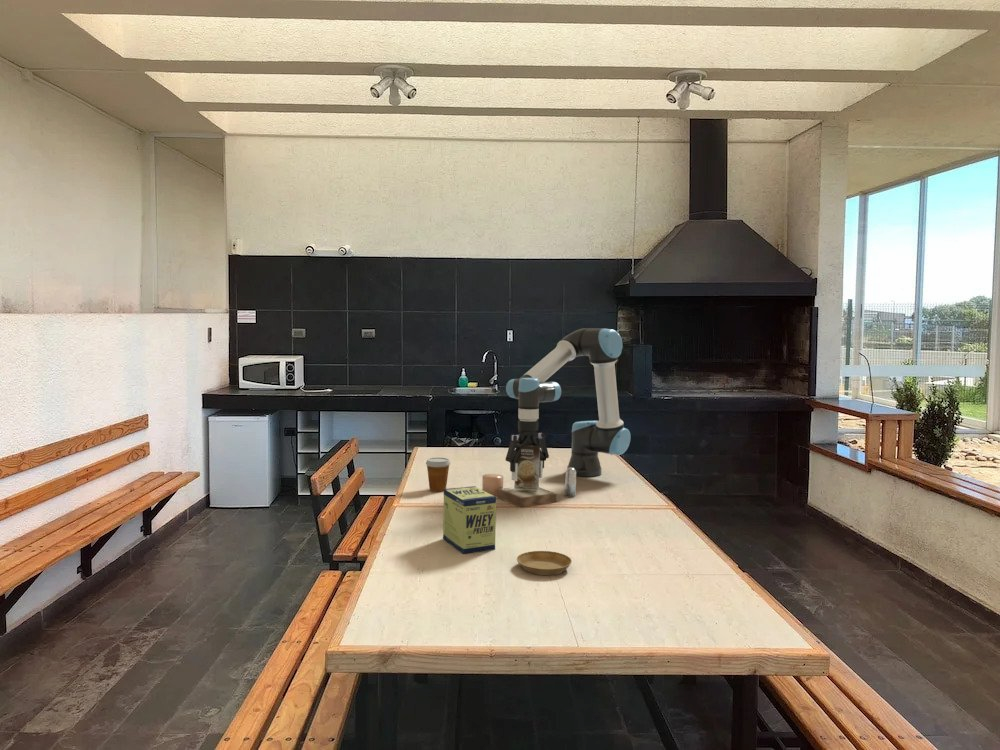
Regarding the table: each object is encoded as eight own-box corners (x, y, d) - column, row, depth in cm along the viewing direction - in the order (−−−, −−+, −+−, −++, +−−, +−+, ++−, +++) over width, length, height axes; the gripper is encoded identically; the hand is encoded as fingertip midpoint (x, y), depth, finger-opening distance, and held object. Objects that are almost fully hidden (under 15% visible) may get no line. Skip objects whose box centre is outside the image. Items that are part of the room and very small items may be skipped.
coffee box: (513, 489, 257) (514, 446, 255) (515, 485, 263) (515, 443, 262) (538, 490, 256) (539, 447, 254) (539, 486, 262) (540, 444, 261)
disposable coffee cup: (421, 491, 269) (421, 460, 268) (432, 486, 278) (432, 456, 277) (443, 494, 265) (443, 462, 265) (454, 488, 274) (454, 458, 273)
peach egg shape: (496, 490, 273) (496, 473, 272) (507, 495, 266) (507, 477, 265) (478, 492, 268) (478, 475, 268) (488, 497, 262) (489, 479, 261)
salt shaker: (571, 494, 269) (572, 466, 268) (577, 496, 266) (578, 467, 265) (562, 495, 267) (563, 466, 266) (569, 497, 264) (570, 468, 263)
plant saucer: (516, 558, 195) (516, 549, 195) (569, 560, 194) (569, 551, 194) (516, 578, 180) (516, 568, 180) (573, 579, 180) (573, 569, 180)
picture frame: (532, 492, 271) (532, 484, 270) (556, 501, 257) (556, 493, 257) (497, 497, 262) (497, 488, 262) (520, 507, 249) (520, 498, 248)
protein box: (463, 554, 197) (464, 500, 196) (442, 539, 211) (442, 488, 210) (496, 549, 202) (497, 496, 201) (473, 534, 215) (474, 485, 214)
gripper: (548, 416, 267) (546, 473, 268) (496, 420, 255) (495, 479, 256) (559, 419, 260) (558, 477, 262) (507, 423, 248) (506, 484, 250)
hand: (527, 478), depth 259 cm, fingers closed on coffee box, 10 cm apart
